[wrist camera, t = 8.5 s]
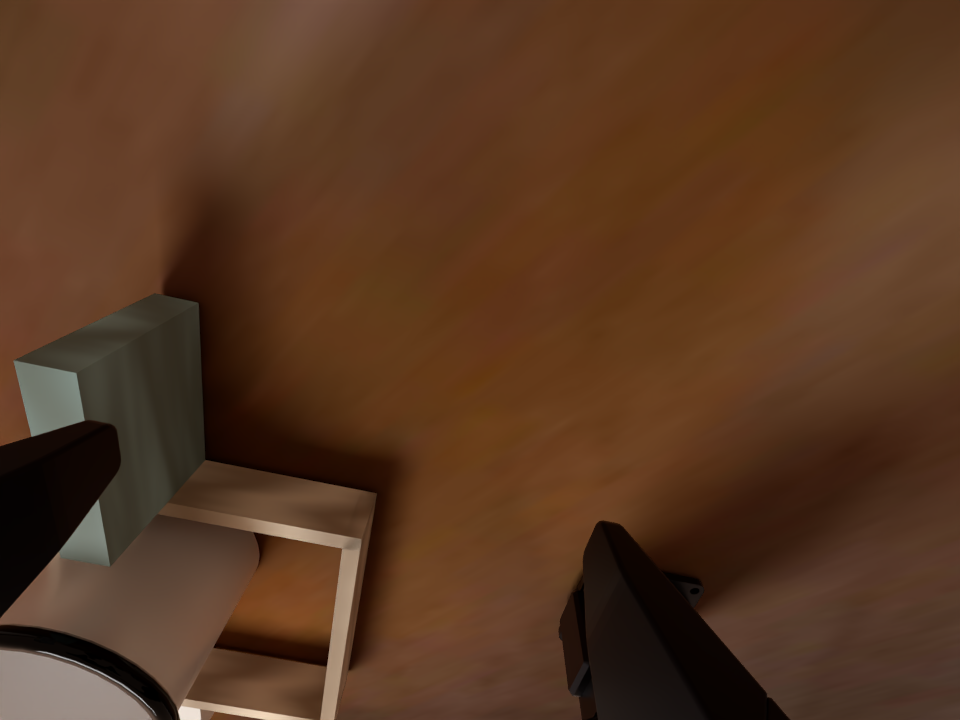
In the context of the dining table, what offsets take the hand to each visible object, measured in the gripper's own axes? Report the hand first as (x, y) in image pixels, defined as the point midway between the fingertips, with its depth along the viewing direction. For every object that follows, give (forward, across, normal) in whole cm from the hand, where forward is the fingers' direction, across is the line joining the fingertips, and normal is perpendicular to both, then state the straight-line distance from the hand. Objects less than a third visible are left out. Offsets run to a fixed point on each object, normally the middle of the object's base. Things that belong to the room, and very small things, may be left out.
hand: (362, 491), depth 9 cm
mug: (+12, +12, +18) cm, 25 cm away
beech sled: (+12, +9, +15) cm, 21 cm away
